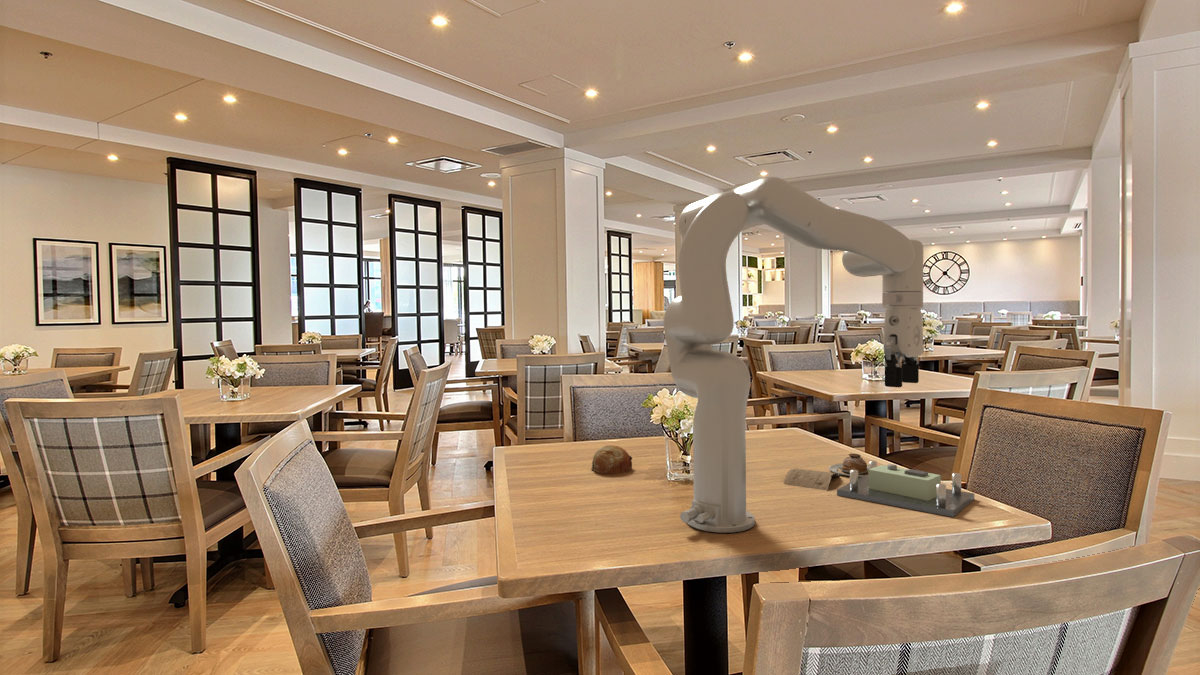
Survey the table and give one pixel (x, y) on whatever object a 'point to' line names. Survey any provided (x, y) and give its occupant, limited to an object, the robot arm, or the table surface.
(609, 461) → the bread roll
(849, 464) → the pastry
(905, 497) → the chassis
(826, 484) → the curved roof tile
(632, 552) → the table surface
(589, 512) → the table surface
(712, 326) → the robot arm
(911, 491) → the block
